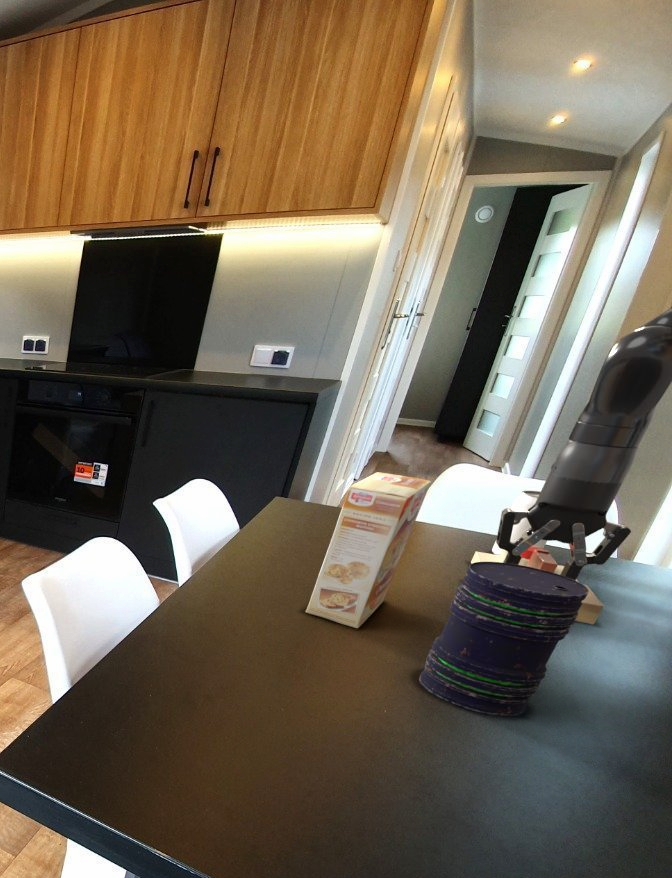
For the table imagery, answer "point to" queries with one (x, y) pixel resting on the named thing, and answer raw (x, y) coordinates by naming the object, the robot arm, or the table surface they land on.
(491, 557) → the button box
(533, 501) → the can
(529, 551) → the button
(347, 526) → the coffeecake box
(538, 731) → the table surface
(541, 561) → the holder
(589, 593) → the holder base
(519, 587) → the dark blue barrel
